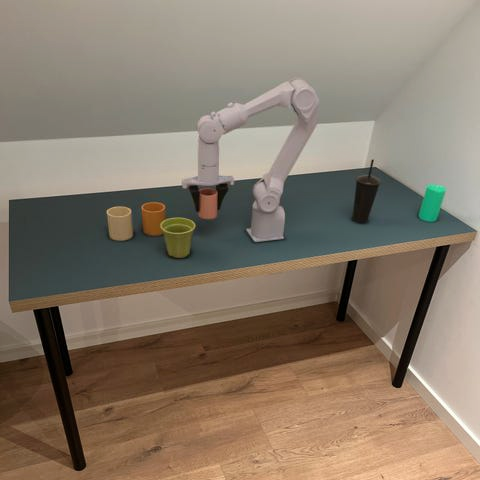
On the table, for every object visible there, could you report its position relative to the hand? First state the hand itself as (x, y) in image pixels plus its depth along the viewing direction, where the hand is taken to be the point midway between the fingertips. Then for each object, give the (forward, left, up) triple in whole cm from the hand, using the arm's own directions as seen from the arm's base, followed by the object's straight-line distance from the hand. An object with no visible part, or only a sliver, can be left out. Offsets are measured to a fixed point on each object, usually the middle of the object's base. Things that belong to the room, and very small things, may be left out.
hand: (207, 209), depth 147 cm
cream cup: (+25, -6, -9) cm, 27 cm away
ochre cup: (+15, -7, -9) cm, 18 cm away
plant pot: (+11, +8, -9) cm, 16 cm away
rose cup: (0, 0, -2) cm, 2 cm away
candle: (-75, +3, -9) cm, 76 cm away
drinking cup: (-51, 0, -9) cm, 52 cm away
